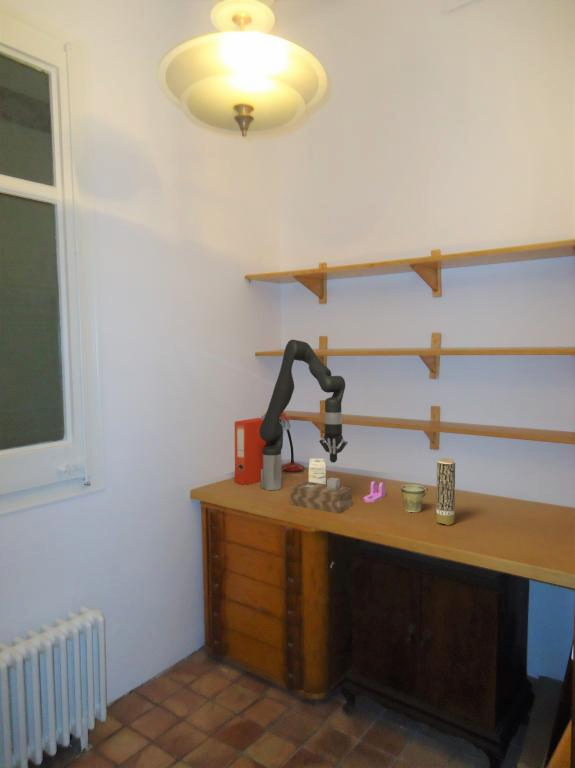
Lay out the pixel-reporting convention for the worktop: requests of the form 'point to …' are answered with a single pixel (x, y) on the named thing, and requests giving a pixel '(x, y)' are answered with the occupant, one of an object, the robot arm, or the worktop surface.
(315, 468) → the ink cartridge box
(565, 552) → the worktop surface
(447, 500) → the paper tube
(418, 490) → the ceramic cup
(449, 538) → the worktop surface
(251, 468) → the file binder
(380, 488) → the bracket
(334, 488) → the steel peg
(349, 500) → the walnut block
